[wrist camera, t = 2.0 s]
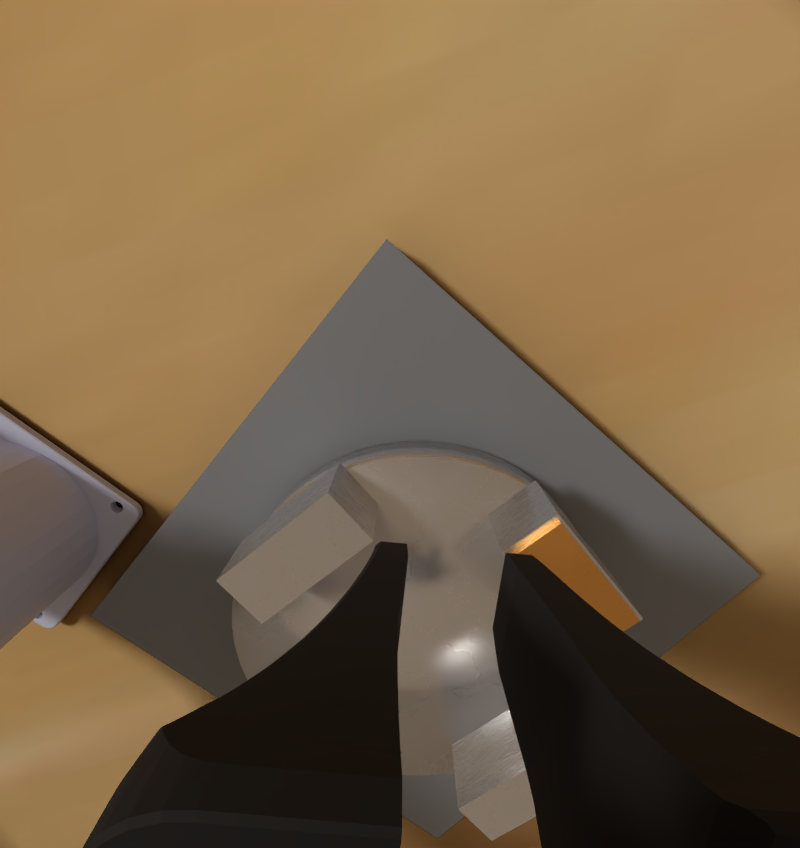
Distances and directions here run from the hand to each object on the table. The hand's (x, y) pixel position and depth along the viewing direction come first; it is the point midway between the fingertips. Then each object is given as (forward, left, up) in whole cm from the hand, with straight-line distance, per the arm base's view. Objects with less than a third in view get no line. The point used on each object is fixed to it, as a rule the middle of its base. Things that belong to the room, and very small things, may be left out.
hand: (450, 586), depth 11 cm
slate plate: (+3, -5, -9) cm, 11 cm away
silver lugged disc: (+3, -5, -8) cm, 10 cm away
